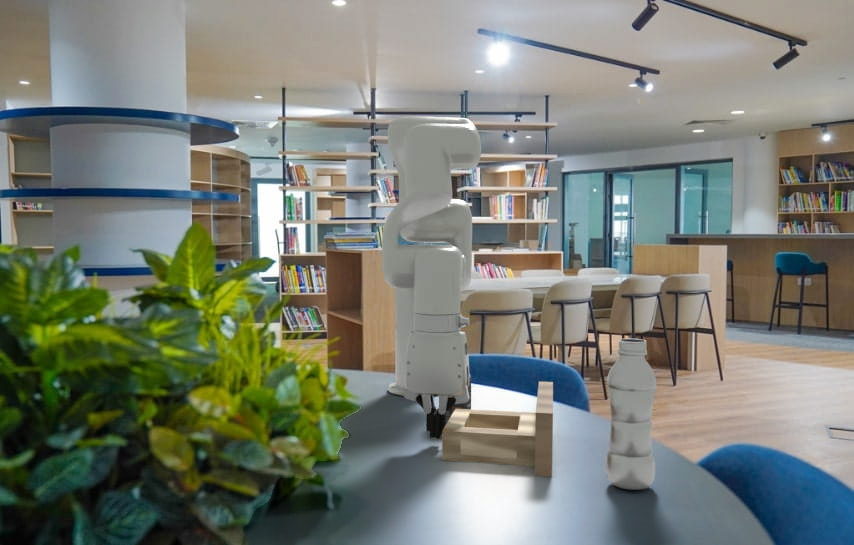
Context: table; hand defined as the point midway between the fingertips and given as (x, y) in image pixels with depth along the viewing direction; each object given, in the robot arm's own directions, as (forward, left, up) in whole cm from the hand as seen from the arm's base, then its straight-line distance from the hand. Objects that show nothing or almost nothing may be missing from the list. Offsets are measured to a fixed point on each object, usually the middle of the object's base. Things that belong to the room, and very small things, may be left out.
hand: (436, 435), depth 110 cm
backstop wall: (0, +17, -2) cm, 17 cm away
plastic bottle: (+13, +29, -2) cm, 32 cm away
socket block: (0, +9, -2) cm, 9 cm away
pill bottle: (-15, +1, -2) cm, 15 cm away
